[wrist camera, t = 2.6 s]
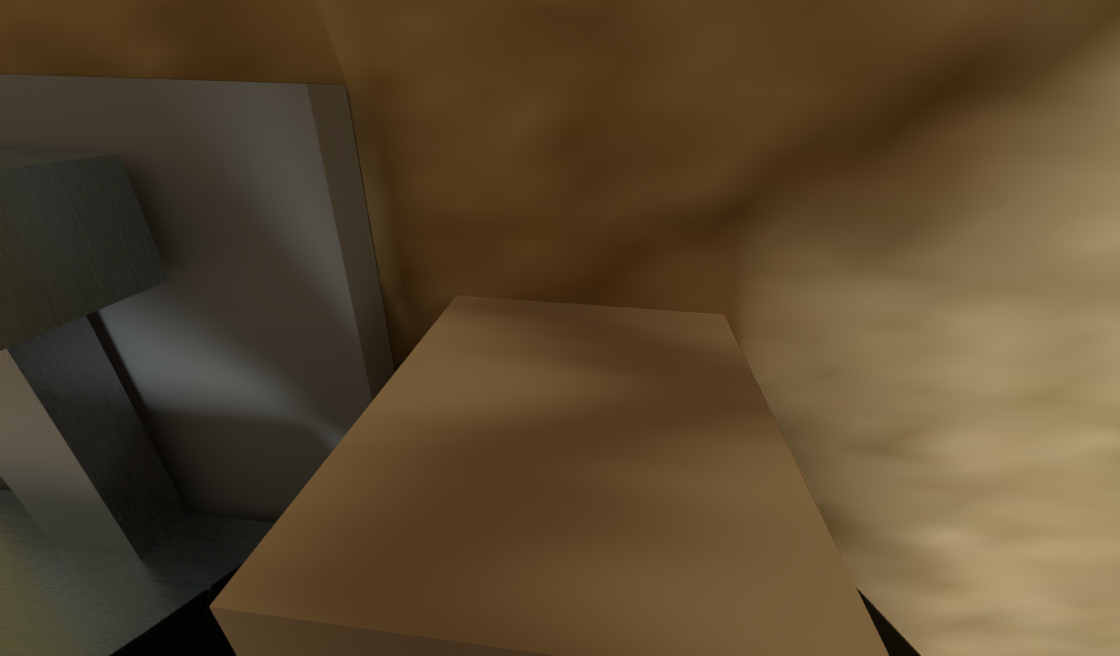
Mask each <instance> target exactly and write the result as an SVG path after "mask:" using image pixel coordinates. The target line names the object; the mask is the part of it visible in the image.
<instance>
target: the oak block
mask: <svg viewBox="0 0 1120 656" xmlns="http://www.w3.org/2000/svg"><path fill="white" fill-rule="evenodd" d="M209 608H210V609H211V611H212V613H213V615H214V616H215V618H216V620H217V622H218V623H219V625H220V627H221V629H222V630H223V632H224V634H225V636H226V637H227V639H228V641H229V643H230V644H231V646H232V648H233V650H234V651H235V653H236V655H237V656H889V654H888V652H887V650H886V648H885V646H884V644H883V642H882V640H881V638H880V636H879V634H878V632H877V629H876V627H875V625H874V623H873V621H872V619H871V617H870V615H869V613H868V611H867V609H866V607H865V605H864V603H863V601H862V599H861V596H860V594H859V592H858V590H857V588H856V586H855V584H854V582H853V580H852V578H851V576H850V574H849V572H848V570H847V568H846V565H845V563H844V561H843V559H842V557H841V555H840V553H839V551H838V549H837V547H836V545H835V543H834V541H833V539H832V537H831V535H830V532H829V530H828V528H827V526H826V524H825V522H824V520H823V518H822V516H821V514H820V512H819V510H818V508H817V506H816V504H815V502H814V499H813V497H812V495H811V493H810V491H809V489H808V487H807V485H806V483H805V481H804V479H803V477H802V475H801V473H800V471H799V468H798V466H797V464H796V462H795V460H794V458H793V456H792V454H791V452H790V450H789V448H788V446H787V444H786V442H785V440H784V438H783V435H782V433H781V431H780V429H779V427H778V425H777V423H776V421H775V419H774V417H773V415H772V413H771V411H770V409H769V407H768V404H767V402H766V400H765V398H764V396H763V394H762V392H761V390H760V388H759V386H758V384H757V382H756V380H755V378H754V376H753V374H752V371H751V369H750V367H749V365H748V363H747V361H746V359H745V357H744V355H743V353H742V351H741V349H740V347H739V345H738V343H737V341H736V338H735V336H734V334H733V332H732V330H731V328H730V326H729V324H728V322H727V320H726V318H725V316H724V314H711V313H697V312H683V311H670V310H656V309H642V308H628V307H615V306H601V305H587V304H573V303H560V302H546V301H532V300H518V299H505V298H491V297H477V296H463V295H456V297H455V298H454V299H453V300H452V302H451V303H450V304H449V305H448V307H447V308H446V309H445V310H444V312H443V313H442V314H441V316H440V317H439V318H438V319H437V321H436V322H435V323H434V324H433V326H432V327H431V328H430V329H429V331H428V332H427V333H426V334H425V336H424V337H423V338H422V339H421V341H420V342H419V343H418V344H417V346H416V347H415V348H414V349H413V351H412V352H411V353H410V355H409V356H408V357H407V358H406V360H405V361H404V362H403V363H402V365H401V366H400V367H399V368H398V370H397V371H396V372H395V373H394V375H393V376H392V377H391V378H390V380H389V381H388V382H387V383H386V385H385V386H384V387H383V388H382V390H381V391H380V392H379V394H378V395H377V396H376V397H375V399H374V400H373V401H372V402H371V404H370V405H369V406H368V407H367V409H366V410H365V411H364V412H363V414H362V415H361V416H360V417H359V419H358V420H357V421H356V422H355V424H354V425H353V426H352V427H351V429H350V430H349V431H348V433H347V434H346V435H345V436H344V438H343V439H342V440H341V441H340V443H339V444H338V445H337V446H336V448H335V449H334V450H333V451H332V453H331V454H330V455H329V456H328V458H327V459H326V460H325V461H324V463H323V464H322V465H321V466H320V468H319V469H318V470H317V472H316V473H315V474H314V475H313V477H312V478H311V479H310V480H309V482H308V483H307V484H306V485H305V487H304V488H303V489H302V490H301V492H300V493H299V494H298V495H297V497H296V498H295V499H294V500H293V502H292V503H291V504H290V505H289V507H288V508H287V509H286V511H285V512H284V513H283V514H282V516H281V517H280V518H279V519H278V521H277V522H276V523H275V524H274V526H273V527H272V528H271V529H270V531H269V532H268V533H267V534H266V536H265V537H264V538H263V539H262V541H261V542H260V543H259V544H258V546H257V547H256V548H255V550H254V551H253V552H252V553H251V555H250V556H249V557H248V558H247V560H246V561H245V562H244V563H243V565H242V566H241V567H240V568H239V570H238V571H237V572H236V573H235V575H234V576H233V577H232V578H231V580H230V581H229V582H228V583H227V585H226V586H225V587H224V589H223V590H222V591H221V592H220V594H219V595H218V596H217V597H216V599H215V600H214V601H213V602H212V604H211V605H210V606H209Z"/></svg>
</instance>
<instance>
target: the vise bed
mask: <svg viewBox="0 0 1120 656" xmlns="http://www.w3.org/2000/svg"><path fill="white" fill-rule="evenodd" d="M0 148H1V149H22V150H43V151H63V152H84V153H104V154H119V156H120V158H121V161H122V163H123V166H124V168H125V171H126V173H127V176H128V178H129V181H130V183H131V186H132V188H133V191H134V193H135V195H136V198H137V200H138V203H139V205H140V208H141V210H142V213H143V215H144V218H145V220H146V223H147V225H148V228H149V230H150V233H151V235H152V237H153V240H154V242H155V245H156V247H157V250H158V252H159V255H160V257H161V260H162V262H163V265H164V267H165V270H166V272H167V275H168V277H169V279H170V281H167V282H165V283H162V284H160V285H158V286H155V287H153V288H150V289H148V290H146V291H143V292H141V293H138V294H136V295H134V296H131V297H129V298H126V299H124V300H122V301H119V302H117V303H114V304H112V305H110V306H107V307H105V308H102V309H100V310H98V311H95V312H93V313H90V314H88V315H86V317H87V319H88V320H89V322H90V324H91V326H92V328H93V330H94V332H95V334H96V336H97V338H98V340H99V342H100V344H101V346H102V347H103V349H104V351H105V353H106V355H107V357H108V359H109V361H110V363H111V365H112V367H113V369H114V371H115V373H116V374H117V376H118V378H119V380H120V382H121V384H122V386H123V388H124V390H125V392H126V394H127V396H128V398H129V400H130V401H131V403H132V405H133V407H134V409H135V411H136V413H137V415H138V417H139V419H140V421H141V423H142V425H143V427H144V428H145V430H146V432H147V434H148V436H149V438H150V440H151V442H152V444H153V446H154V448H155V450H156V452H157V453H158V455H159V457H160V459H161V461H162V463H163V465H164V467H165V469H166V471H167V473H168V475H169V477H170V479H171V480H172V482H173V484H174V486H175V488H176V490H177V492H178V494H179V496H180V498H181V500H182V502H183V504H184V506H185V507H186V509H187V511H188V513H194V514H202V515H210V516H218V517H226V518H234V519H243V520H251V521H259V522H267V523H276V522H277V521H278V519H279V518H280V517H281V516H282V514H283V513H284V512H285V511H286V509H287V508H288V507H289V505H290V504H291V503H292V502H293V500H294V499H295V498H296V497H297V495H298V494H299V493H300V492H301V490H302V489H303V488H304V487H305V485H306V484H307V483H308V482H309V480H310V479H311V478H312V477H313V475H314V474H315V473H316V472H317V470H318V469H319V468H320V466H321V465H322V464H323V463H324V461H325V460H326V459H327V458H328V456H329V455H330V454H331V453H332V451H333V450H334V449H335V448H336V446H337V445H338V444H339V443H340V441H341V440H342V439H343V438H344V436H345V435H346V434H347V433H348V431H349V430H350V429H351V427H352V426H353V425H354V424H355V422H356V421H357V420H358V419H359V417H360V416H361V415H362V414H363V412H364V411H365V410H366V409H367V407H368V406H369V405H370V404H371V402H372V401H373V400H374V399H375V397H376V396H377V395H378V394H379V392H380V391H381V390H382V388H383V387H384V386H385V385H386V383H387V382H388V381H389V380H390V378H391V377H392V376H393V375H394V373H395V371H394V365H393V359H392V353H391V347H390V342H389V336H388V330H387V324H386V318H385V312H384V307H383V301H382V295H381V289H380V283H379V277H378V272H377V266H376V260H375V254H374V248H373V242H372V237H371V231H370V225H369V219H368V213H367V207H366V202H365V196H364V190H363V184H362V178H361V172H360V167H359V161H358V155H357V149H356V143H355V137H354V132H353V126H352V120H351V114H350V108H349V102H348V97H347V91H346V85H328V84H297V83H266V82H235V81H204V80H173V79H142V78H110V77H79V76H48V75H17V74H0ZM0 490H7V491H12V490H11V489H10V487H9V486H8V485H7V483H6V482H5V481H4V479H3V478H2V477H1V475H0Z"/></svg>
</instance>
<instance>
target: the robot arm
mask: <svg viewBox="0 0 1120 656" xmlns="http://www.w3.org/2000/svg"><path fill="white" fill-rule="evenodd" d="M244 562H245V561H244ZM244 562H243V563H244ZM243 563H241V564H240V565H239V566H237V567H236V568H234V569H233V570H232V571H230V572H229V573H227V574H226V575H225V576H223V577H222V578H221V579H219V580H218V581H216V582H215V583H214V584H212V585H211V586H210V588H209V589H205V590H204V591H202V592H201V593H199V594H198V595H197V596H195V597H194V598H192V599H191V600H190V601H188V602H187V603H185V604H184V605H183V606H181V607H180V608H178V609H177V610H175V611H174V612H173V613H171V614H170V615H168V616H167V617H165V618H164V619H162V620H161V621H160V622H158V623H157V624H155V625H154V626H152V627H151V628H149V629H148V630H147V631H145V632H144V633H142V634H141V635H139V636H138V637H136V638H135V639H133V640H132V641H130V642H129V643H127V644H125V645H124V646H122V647H121V648H119V649H118V650H116V651H115V652H113V653H112V654H110V655H109V656H237V655H236V653H235V651H234V650H233V648H232V646H231V644H230V643H229V641H228V639H227V637H226V636H225V634H224V632H223V630H222V629H221V627H220V625H219V623H218V622H217V620H216V618H215V616H214V615H213V613H212V611H211V609H210V608H209V606H210V605H211V604H212V602H213V601H214V600H215V599H216V597H217V596H218V595H219V594H220V592H221V591H222V590H223V589H224V587H225V586H226V585H227V583H228V582H229V581H230V580H231V578H232V577H233V576H234V575H235V573H236V572H237V571H238V570H239V568H240V567H241V566H242V565H243ZM856 588H857V587H856ZM857 590H858V588H857ZM858 592H859V594H860V596H861V599H862V601H863V603H864V605H865V607H866V609H867V611H868V613H869V615H870V617H871V619H872V621H873V623H874V625H875V627H876V629H877V632H878V634H879V636H880V638H881V640H882V642H883V644H884V646H885V648H886V650H887V652H888V654H889V656H921V655H920V654H919V653H918V652H917V651H916V650H915V649H914V648H913V647H912V646H911V645H910V644H909V643H908V641H907V640H906V639H905V638H904V637H903V636H902V635H901V634H900V633H899V632H898V631H897V630H896V629H895V628H894V627H893V626H892V624H891V623H890V622H889V621H888V620H887V619H886V618H885V617H884V616H883V615H882V614H881V613H880V612H879V611H878V610H877V609H876V608H875V606H874V605H873V604H872V603H871V602H870V601H869V600H868V599H867V598H866V597H865V596H864V595H863V594H862V593H861V592H860V591H859V590H858Z"/></svg>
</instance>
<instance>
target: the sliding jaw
mask: <svg viewBox="0 0 1120 656" xmlns="http://www.w3.org/2000/svg"><path fill="white" fill-rule="evenodd" d="M167 281H170V279H169V277H168V275H167V272H166V270H165V267H164V265H163V262H162V260H161V257H160V255H159V252H158V250H157V247H156V245H155V242H154V240H153V237H152V235H151V233H150V230H149V228H148V225H147V223H146V220H145V218H144V215H143V213H142V210H141V208H140V205H139V203H138V200H137V198H136V195H135V193H134V191H133V188H132V186H131V183H130V181H129V178H128V176H127V173H126V171H125V168H124V166H123V163H122V161H121V158H120V156H119V154H104V153H84V152H63V151H43V150H22V149H1V148H0V475H1V477H2V478H3V479H4V481H5V482H6V483H7V485H8V486H9V487H10V489H11V490H12V491H7V490H0V656H109V655H110V654H112V653H113V652H115V651H116V650H118V649H119V648H121V647H122V646H124V645H125V644H127V643H129V642H130V641H132V640H133V639H135V638H136V637H138V636H139V635H141V634H142V633H144V632H145V631H147V630H148V629H149V628H151V627H152V626H154V625H155V624H157V623H158V622H160V621H161V620H162V619H164V618H165V617H167V616H168V615H170V614H171V613H173V612H174V611H175V610H177V609H178V608H180V607H181V606H183V605H184V604H185V603H187V602H188V601H190V600H191V599H192V598H194V597H195V596H197V595H198V594H199V593H201V592H202V591H204V590H205V589H209V588H210V586H211V585H212V584H214V583H215V582H216V581H218V580H219V579H221V578H222V577H223V576H225V575H226V574H227V573H229V572H230V571H232V570H233V569H234V568H236V567H237V566H239V565H240V564H241V563H243V562H244V561H246V560H247V558H248V557H249V556H250V555H251V553H252V552H253V551H254V550H255V548H256V547H257V546H258V544H259V543H260V542H261V541H262V539H263V538H264V537H265V536H266V534H267V533H268V532H269V531H270V529H271V528H272V527H273V526H274V524H275V523H267V522H259V521H251V520H243V519H234V518H226V517H218V516H210V515H202V514H194V513H188V511H187V509H186V507H185V506H184V504H183V502H182V500H181V498H180V496H179V494H178V492H177V490H176V488H175V486H174V484H173V482H172V480H171V479H170V477H169V475H168V473H167V471H166V469H165V467H164V465H163V463H162V461H161V459H160V457H159V455H158V453H157V452H156V450H155V448H154V446H153V444H152V442H151V440H150V438H149V436H148V434H147V432H146V430H145V428H144V427H143V425H142V423H141V421H140V419H139V417H138V415H137V413H136V411H135V409H134V407H133V405H132V403H131V401H130V400H129V398H128V396H127V394H126V392H125V390H124V388H123V386H122V384H121V382H120V380H119V378H118V376H117V374H116V373H115V371H114V369H113V367H112V365H111V363H110V361H109V359H108V357H107V355H106V353H105V351H104V349H103V347H102V346H101V344H100V342H99V340H98V338H97V336H96V334H95V332H94V330H93V328H92V326H91V324H90V322H89V320H88V319H87V317H86V315H88V314H90V313H93V312H95V311H98V310H100V309H102V308H105V307H107V306H110V305H112V304H114V303H117V302H119V301H122V300H124V299H126V298H129V297H131V296H134V295H136V294H138V293H141V292H143V291H146V290H148V289H150V288H153V287H155V286H158V285H160V284H162V283H165V282H167Z"/></svg>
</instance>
